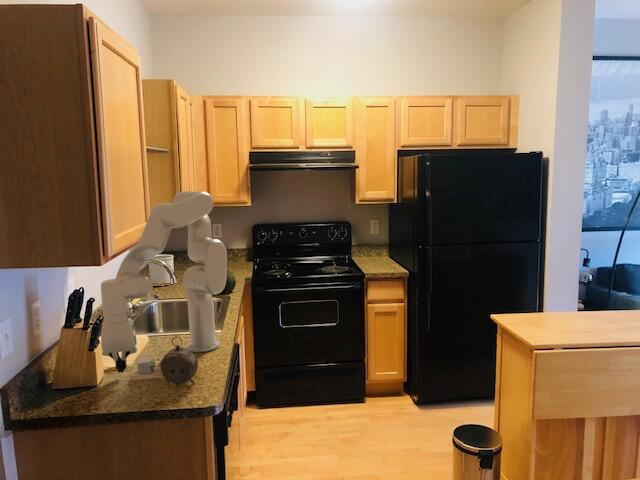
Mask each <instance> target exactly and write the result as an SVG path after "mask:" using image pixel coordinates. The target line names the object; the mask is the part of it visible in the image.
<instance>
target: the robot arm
mask: <svg viewBox="0 0 640 480" xmlns="http://www.w3.org/2000/svg"><path fill="white" fill-rule="evenodd" d="M213 208H214V199H213V197H212V195H211V194H210V193H208V192H206V191H201V190H200V191H194V190H193V191H189V190H184V191H179V192H177V193H175V195H174V196H173V202H172V203H171V202H170V203H169V202H160V203H157V204H156V205H154V206H153V207H152V209H151V211H150V213H149V215H148V218H147V220H146V223H145V226H144V228H143V230H142V233H141V234H140V235H141V236H140V239H139V240H138V242H137V244H135V246H133V248H132V249H131V250H129V252H128V253H127V254H126V255H125V256H124V258H123V260H122V261H121V263H120V265H119V268H118V270H117V272H116V276H115V278H111V279H107V280H104V281H102V282H101V284H100V296H101V303H102V313H103V316H102V317H103V321H102V323H101V330H100V331H101V332H100V333H101V335H100V336H101V337H100V340H101V342H100V344H101V345H100V346H101V350H102V352H101V355H102V356H104V357H110V358H111V359H112V360H113V362H115V369H116V370H117V373H118V374H119V373H124V372H125V370H126V369H127V366H128V365H127V364H128V363H127V358H128V357H129V356H130V355H132V354H135V353H137V352H138V348H137V343H138V340H137V334H136V333H137V332H136V327H135V325H134V321H133V318H132V317H134V315H135V313H134V312H131V311H130V310H129V300H135V299H136V300H138V299H144V298H146V297H147V296H149V295H150V294H151V293H152V291H153V290H154V289H153V288H154V287H153V284H152V281H151V280H150V277H147V276H144V275H141V274H139V273H140V271H141V269H142V268H143V266H144V265H145V264H146V263H147V262H149V261H148V260H149V259H150V258H152V257H154V256H156V255H160V254H161V253H162V252H163V251H164V250H165V248H166V245H167V242H168V240H169V238H170V234H171V232H172V229H181V228H184V227H187V232H188V233H187V256H188V258H189V259H190V261H192V262H194V263H197V264H198V263H199V264H204V266H202V265H193V266H191V267H189V268H187V269H186V271H184V273H183V278H182V279H183V287H184V291H185V295H186V300H187V313H188V315H187V316H188V326H189V327H188V328H189V340H190V341H189V342H187V344H186V347H185V348H186V349H188V350H190V351H191V352H192V353H204V352H211V351H213V350H216V349H217V348H219V347H220V345H221V341H220V340H219V339H218V338H216V325H215V324H216V323H215V308H214V298H213V295H218V294H220V293H222V292H221V291H222V290H223V289H224V287H225V284H226V275H227V270H228V266H227V265H228V253H227V251H228V250H227V248H226V245H225V244H224V243H223V242H222V241H221V240H220V239H216V238H212V237H213V236H212V223H211V222H212V221H211V219H210V216H209V215H208V214H210V213H211V211H212V210H213ZM120 353H121V356H120Z"/></svg>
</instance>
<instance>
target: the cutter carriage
mask: <svg viewBox="0 0 640 480" xmlns="http://www.w3.org/2000/svg"><path fill="white" fill-rule="evenodd" d="M136 366H137V369H138V374H147V373H151V372H152V371H153V370H154V368H156V361H154V357H153V356H152V355H151V356H141V357H139V360H138V361H137V365H136Z"/></svg>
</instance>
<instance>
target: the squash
mask: <svg viewBox="0 0 640 480" xmlns="http://www.w3.org/2000/svg"><path fill="white" fill-rule="evenodd" d="M236 285H237V279H236V276H235V274H234V273H233V272H231V271H230V270H228V269H227V275H226V284H225V287H224V289H223V290H222V291H221V292H220V293H222V292H223V293H225V292H229V293H230V292H232V291H234V289H235V287H236Z"/></svg>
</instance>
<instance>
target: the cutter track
mask: <svg viewBox="0 0 640 480" xmlns="http://www.w3.org/2000/svg"><path fill="white" fill-rule="evenodd" d="M131 378H132V379H131V380H132V381H137V380H146V379H147V380H148V379H158V378H164V376H163V374H162V372H161V368H160V366H159V367H154V370H153V371H152V372H151V373H147V374H138V368H137V369H134V371H133V373H132V375H131Z"/></svg>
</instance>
